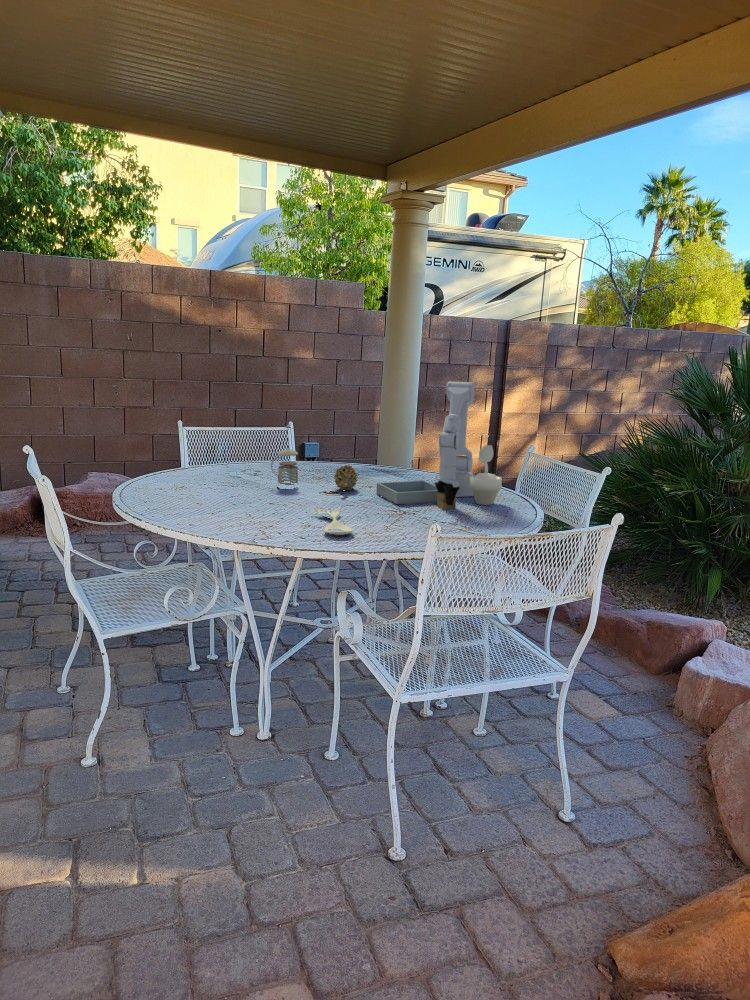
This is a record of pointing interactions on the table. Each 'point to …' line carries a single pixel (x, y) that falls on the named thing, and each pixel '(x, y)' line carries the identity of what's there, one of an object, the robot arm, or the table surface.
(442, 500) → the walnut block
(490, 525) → the table surface
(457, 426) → the robot arm
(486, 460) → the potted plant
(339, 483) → the pine cone
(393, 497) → the slate bin
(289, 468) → the french press
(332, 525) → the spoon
